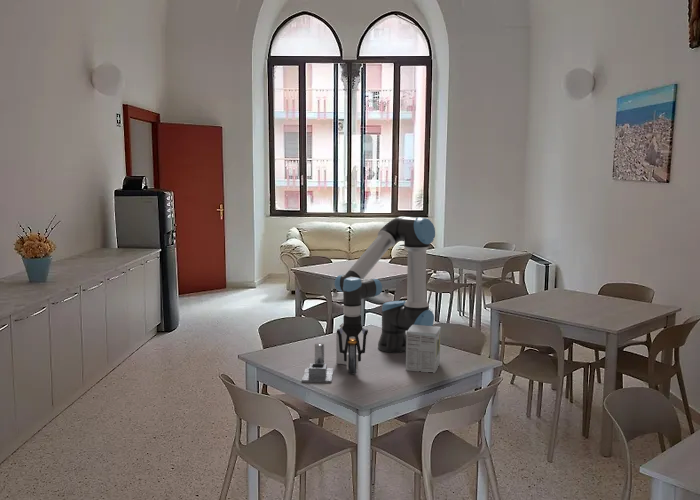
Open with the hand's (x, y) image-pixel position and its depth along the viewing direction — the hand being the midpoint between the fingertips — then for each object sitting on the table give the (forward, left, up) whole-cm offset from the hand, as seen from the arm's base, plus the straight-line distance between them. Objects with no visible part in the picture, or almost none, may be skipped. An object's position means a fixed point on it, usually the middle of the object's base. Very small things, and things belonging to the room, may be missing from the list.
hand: (352, 368), depth 266 cm
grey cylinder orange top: (0, 0, -2) cm, 2 cm away
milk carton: (+3, -16, -3) cm, 16 cm away
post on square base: (+14, +4, -2) cm, 15 cm away
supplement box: (-31, -11, -3) cm, 33 cm away
